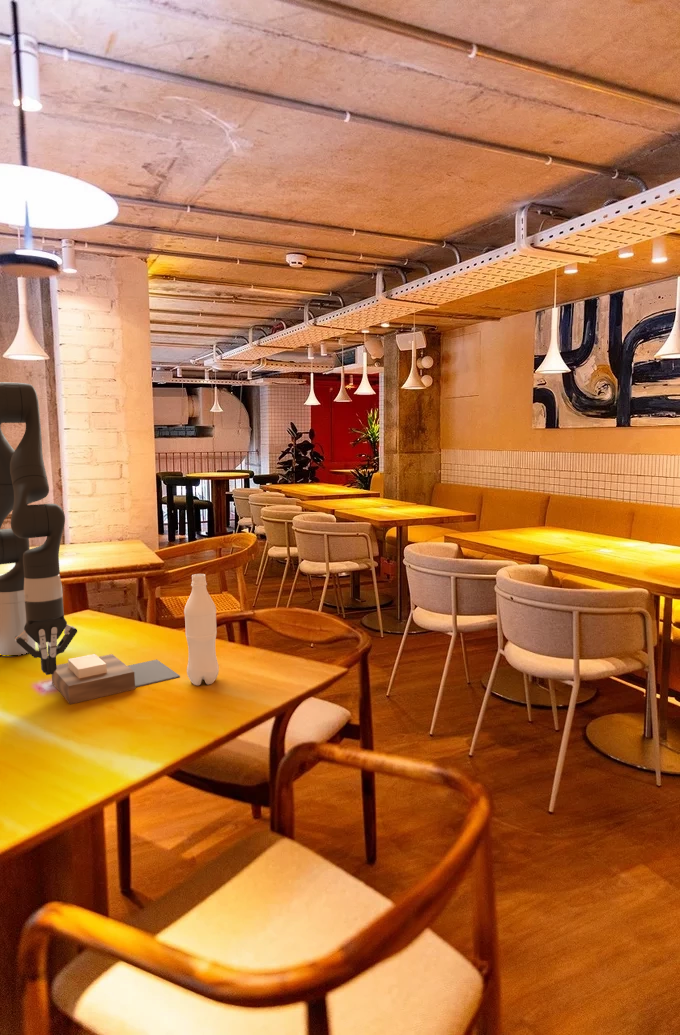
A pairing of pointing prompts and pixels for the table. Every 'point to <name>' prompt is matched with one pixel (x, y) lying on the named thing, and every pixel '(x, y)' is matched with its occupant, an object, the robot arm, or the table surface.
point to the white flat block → (87, 665)
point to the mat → (151, 672)
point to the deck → (94, 681)
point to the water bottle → (201, 633)
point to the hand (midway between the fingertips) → (49, 673)
